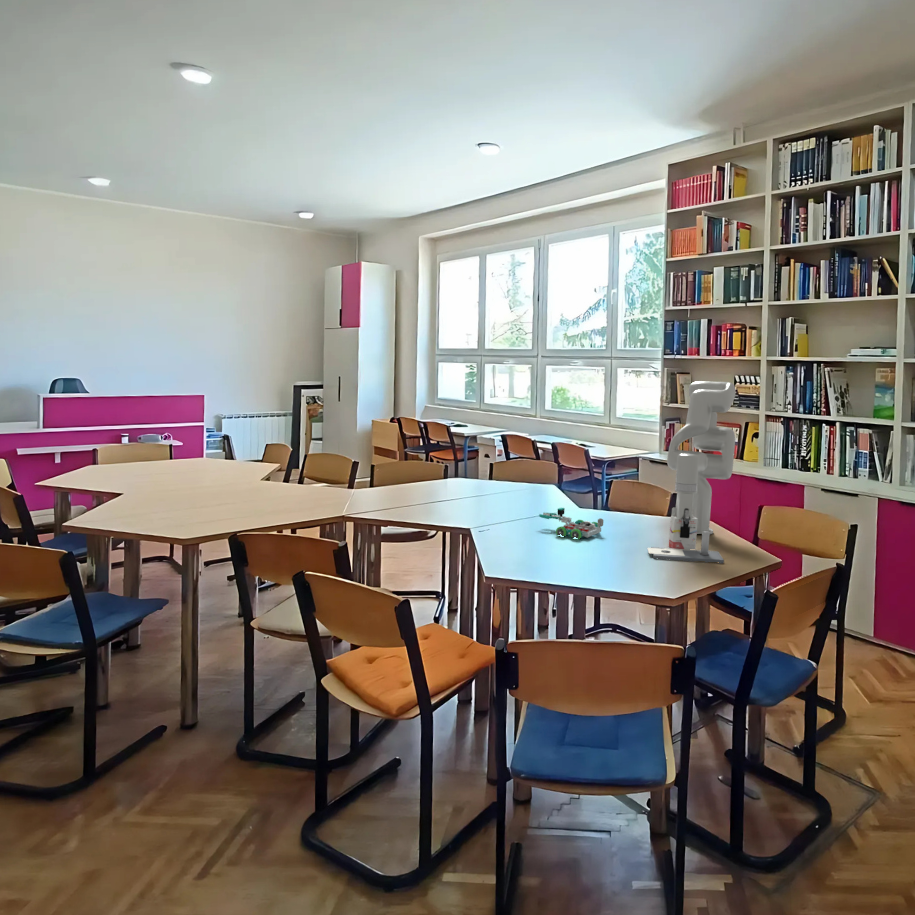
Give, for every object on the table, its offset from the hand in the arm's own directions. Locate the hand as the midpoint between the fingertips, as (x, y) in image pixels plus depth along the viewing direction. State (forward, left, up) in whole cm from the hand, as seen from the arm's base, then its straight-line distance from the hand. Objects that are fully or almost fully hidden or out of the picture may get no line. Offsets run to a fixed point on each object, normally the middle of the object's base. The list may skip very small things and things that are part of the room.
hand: (682, 534), depth 273 cm
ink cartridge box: (0, 0, -5) cm, 5 cm away
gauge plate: (+12, 0, -5) cm, 13 cm away
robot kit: (-14, -42, -6) cm, 44 cm away
